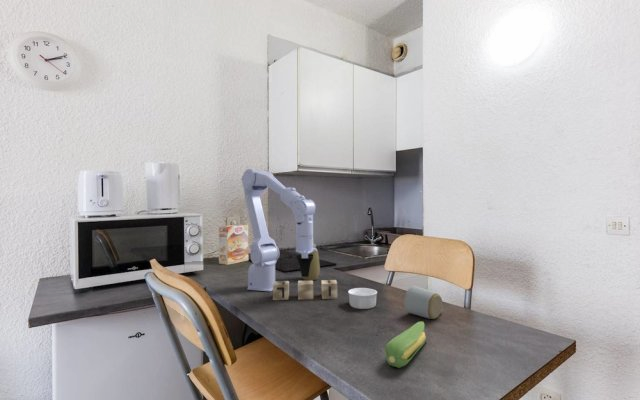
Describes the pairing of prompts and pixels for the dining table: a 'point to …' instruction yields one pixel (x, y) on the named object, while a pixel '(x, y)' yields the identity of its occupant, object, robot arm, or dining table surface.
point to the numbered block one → (329, 289)
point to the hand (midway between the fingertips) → (305, 276)
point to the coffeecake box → (233, 244)
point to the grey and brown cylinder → (423, 302)
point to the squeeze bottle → (313, 266)
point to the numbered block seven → (281, 290)
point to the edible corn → (405, 345)
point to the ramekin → (362, 298)
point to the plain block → (305, 290)
